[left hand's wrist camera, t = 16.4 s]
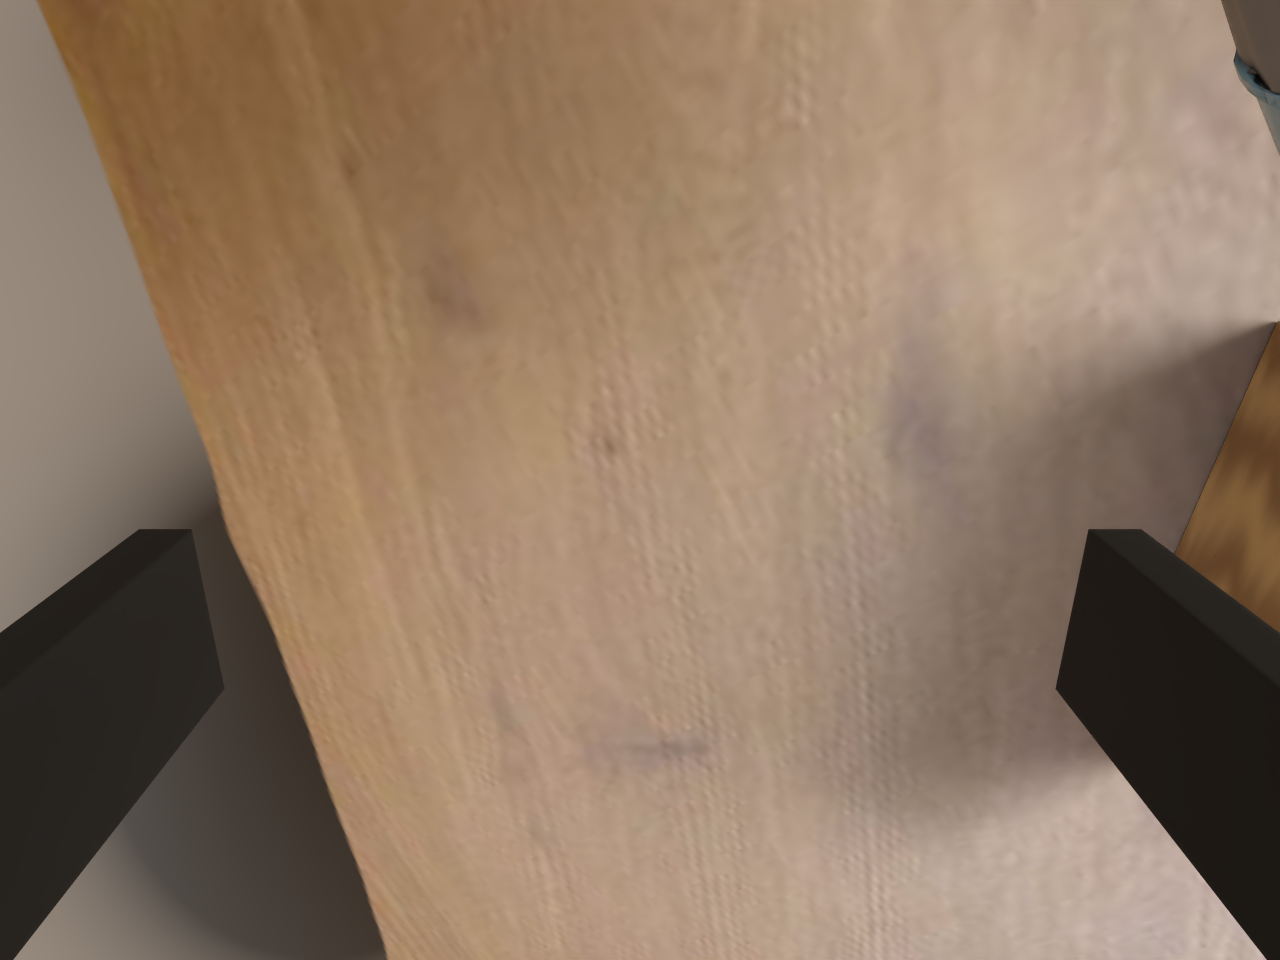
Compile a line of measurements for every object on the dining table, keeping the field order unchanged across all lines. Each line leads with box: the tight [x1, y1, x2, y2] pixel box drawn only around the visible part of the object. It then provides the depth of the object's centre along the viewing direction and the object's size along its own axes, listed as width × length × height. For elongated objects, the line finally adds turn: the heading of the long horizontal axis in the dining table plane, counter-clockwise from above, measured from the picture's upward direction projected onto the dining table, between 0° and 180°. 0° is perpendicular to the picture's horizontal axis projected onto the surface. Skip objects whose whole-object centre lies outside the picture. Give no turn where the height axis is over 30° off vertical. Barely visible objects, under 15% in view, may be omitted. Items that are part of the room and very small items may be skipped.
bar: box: [1175, 321, 1280, 633], centre depth 41 cm, size 24×5×8 cm, turn 170°
